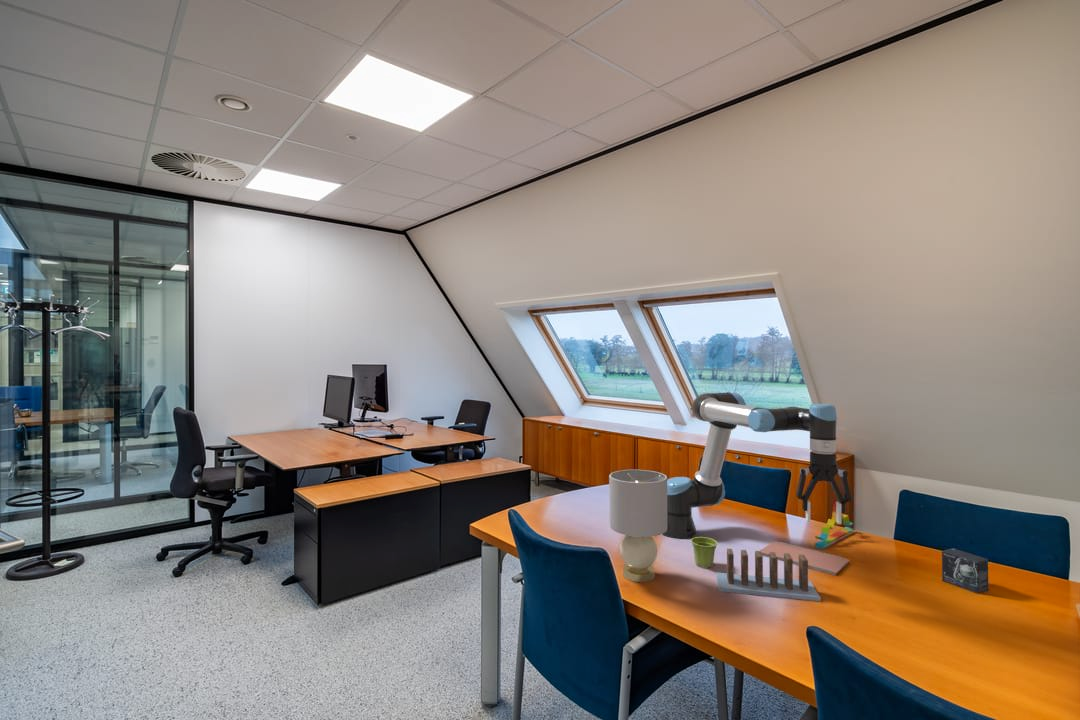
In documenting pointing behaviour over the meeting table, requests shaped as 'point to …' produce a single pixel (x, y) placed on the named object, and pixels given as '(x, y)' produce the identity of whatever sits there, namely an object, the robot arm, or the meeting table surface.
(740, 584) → the strip board
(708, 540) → the plant pot
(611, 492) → the lamp
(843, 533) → the toy brick structure
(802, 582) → the domino
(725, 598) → the meeting table surface
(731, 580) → the domino
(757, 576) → the domino
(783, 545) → the notebook
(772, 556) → the domino
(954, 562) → the box
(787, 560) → the domino
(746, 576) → the domino
